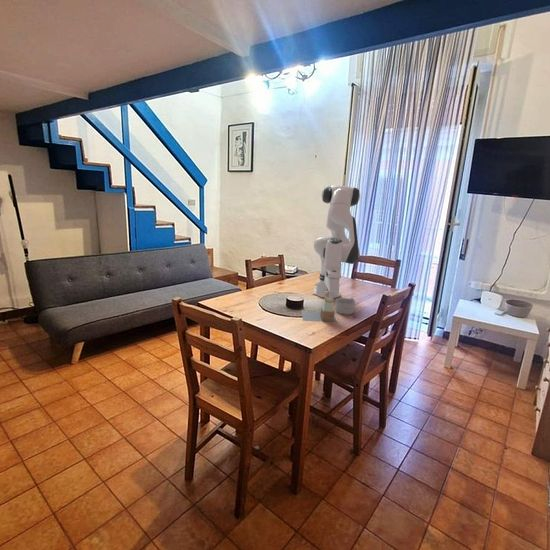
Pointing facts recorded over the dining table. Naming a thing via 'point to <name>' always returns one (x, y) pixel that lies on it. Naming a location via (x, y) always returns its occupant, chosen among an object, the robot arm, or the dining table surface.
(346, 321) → the dining table surface
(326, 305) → the sage top block
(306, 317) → the slate board
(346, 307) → the teacup
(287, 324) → the dining table surface
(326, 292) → the beech cylinder
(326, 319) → the walnut base block
